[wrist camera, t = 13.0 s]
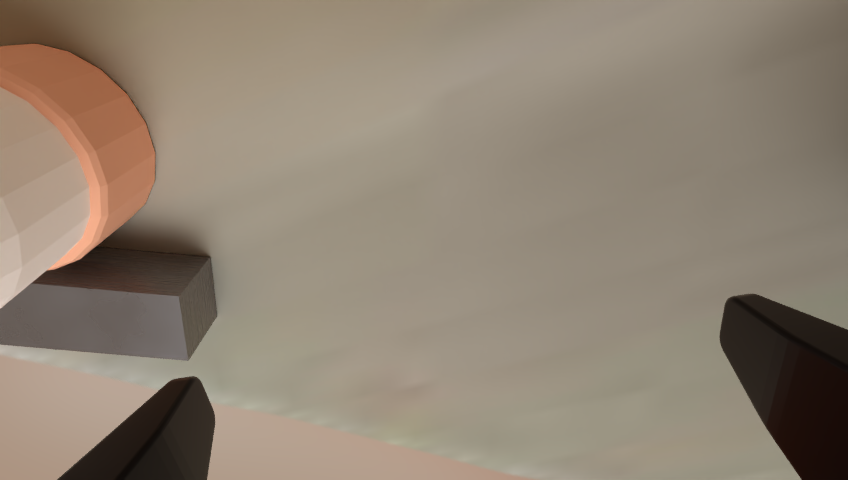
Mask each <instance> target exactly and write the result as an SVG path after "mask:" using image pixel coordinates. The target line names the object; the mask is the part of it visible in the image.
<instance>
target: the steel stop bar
mask: <svg viewBox="0 0 848 480" xmlns="http://www.w3.org/2000/svg"><path fill="white" fill-rule="evenodd" d="M216 317H217V312H216V303H215V294H214V285H213V276H212V268H211V259H210V257H204V256H193V255H182V254H170V253H159V252H147V251H136V250H125V249H113V248H102V247H95V248H93V249H92V250H91V251H90V252H88V253H87V254H86V255H85V256H83V257H82V258H81V259H80V260H77V261H75V262H72V263H69V264H67V265H64V266H62V267H59V268H57V269H54V270H46V271H45V272H44V273H43V274H42V275H40V276H39V277H38V278H37V279H36V280H34V281H33V282H32V283H31V284H30V285H28V286H27V287H26V288H25V289H24V290H22V291H21V292H20V293H19V294H18V295H16V296H15V297H14V298H13V299H12V300H10V301H9V302H8V303H7V304H5V305H4V306H3V307H2V308H1V309H0V344H1V345H13V346H24V347H36V348H47V349H59V350H70V351H82V352H94V353H105V354H117V355H128V356H140V357H151V358H163V359H174V360H186V361H188V360H189V359H190V357H191V356H192V354H193V353H194V351H195V350H196V348H197V346H198V345H199V343H200V342H201V340H202V339H203V337H204V336H205V334H206V333H207V331H208V329H209V328H210V326H211V325H212V323H213V322H214V320H215V319H216Z"/></svg>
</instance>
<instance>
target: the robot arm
mask: <svg viewBox="0 0 848 480" xmlns="http://www.w3.org/2000/svg"><path fill="white" fill-rule="evenodd" d="M720 343H721V346H722V349H723V351H724V353H725V355H726V357H727V358H728V360H729V362H730V364H731V366H732V367H733V369H734V371H735V373H736V375H737V377H738V378H739V380H740V382H741V384H742V386H743V388H744V389H745V391H746V393H747V395H748V397H749V398H750V400H751V402H752V404H753V406H754V408H755V409H756V411H757V413H758V415H759V416H760V418H761V420H762V422H763V423H764V425H765V427H766V428H767V430H768V431H769V433H770V434H771V436H772V437H773V439H774V440H775V442H776V443H777V445H778V446H779V448H780V449H781V450H782V452H783V453H784V455H785V456H786V458H787V459H788V461H789V462H790V463H791V465H792V466H793V468H794V469H795V471H796V472H797V474H798V475H799V476H800V478H801V479H802V480H848V330H847V329H844V328H842V327H839V326H836V325H834V324H831V323H829V322H826V321H824V320H821V319H818V318H816V317H813V316H811V315H808V314H806V313H803V312H800V311H798V310H795V309H793V308H790V307H788V306H785V305H782V304H780V303H777V302H775V301H772V300H770V299H767V298H764V297H762V296H759V295H756V294H745V295H738V296H732V297H730V298H728V299H727V301H726V303H725V307H724V313H723V318H722V324H721V330H720ZM214 428H215V415H214V411H213V408H212V406H211V403H210V401H209V399H208V396H207V394H206V392H205V389H204V387H203V385H202V383H201V381H200V380H199V379H198V378H197V377H194V376H192V377H185V378H178V379H173V380H171V381H170V382H168V383H167V384H166V385H165V386H164V387H162V388H161V389H160V390H159V391H158V392H157V393H156V394H154V395H153V396H152V397H151V398H150V399H149V400H148V401H146V403H144V404H143V405H142V406H141V407H140V408H138V409H137V410H136V411H135V412H134V413H133V414H132V415H130V416H129V417H128V418H127V419H126V420H125V421H124V422H122V423H121V424H120V425H119V426H118V427H117V428H116V429H114V431H112V432H111V433H110V434H109V435H108V436H106V437H105V438H104V439H103V440H102V441H101V442H100V443H99V444H97V445H96V446H95V447H94V448H93V449H92V450H91V451H89V452H88V453H87V454H86V455H85V456H84V457H82V458H81V459H80V460H79V461H78V462H77V463H76V464H74V465H73V466H72V467H71V468H70V469H69V470H68V471H66V472H65V473H64V474H63V475H62V476H61V477H60V478H58V479H57V480H207V476H208V469H209V462H210V455H211V448H212V442H213V435H214Z"/></svg>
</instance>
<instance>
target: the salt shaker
mask: <svg viewBox="0 0 848 480" xmlns="http://www.w3.org/2000/svg"><path fill="white" fill-rule="evenodd" d="M154 182H155V151H154V148H153V145H152V141H151V138H150V135H149V132H148V128H147V125H146V123H145V121H144V120H143V118H142V117H141V115H140V114H139V112H138V110H137V109H136V107H135V106H134V104H133V103H132V101H131V99H130V98H129V96H128V95H127V94H126V93H125V92H124V91H123V90H122V89H121V88H120V87H119V86H118V85H117V84H116V83H114V82H113V81H112V80H111V79H110V78H109V77H108V76H107V75H106V74H105V73H104V72H103V71H102V70H101V69H99V68H97V67H95V66H93V65H92V64H90V63H88V62H86V61H85V60H83V59H81V58H79V57H77V56H76V55H74V54H72V53H70V52H68V51H64V50H60V49H56V48H52V47H48V46H44V45H40V44H36V43H35V44H22V45H9V46H1V47H0V309H1V308H2V307H3V306H4V305H5V304H7V303H8V302H9V301H10V300H12V299H13V298H14V297H15V296H16V295H18V294H19V293H20V292H21V291H22V290H24V289H25V288H26V287H27V286H28V285H30V284H31V283H32V282H33V281H34V280H36V279H37V278H38V277H39V276H40V275H42V274H43V273H44V272H45V271H46V270H54V269H57V268H59V267H62V266H64V265H67V264H69V263H72V262H75V261H77V260H80V259H81V258H82V257H83V256H85V255H86V254H87V253H88V252H90V251H91V250H92V249H93V248H95V247H96V246H97V245H98V244H100V243H101V242H102V241H103V240H105V239H106V238H107V237H108V236H109V235H111V234H112V233H113V232H114V231H116V230H117V229H118V228H119V227H121V226H122V225H123V224H124V223H126V222H127V221H128V220H129V219H130V218H131V217H132V216H133V215H134V214H135V213H136V212H137V211H138V210H139V209H140V208H141V207H142V206H143V205H145V203H146V201H147V199H148V196H149V194H150V191H151V189H152V186H153V184H154Z"/></svg>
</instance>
